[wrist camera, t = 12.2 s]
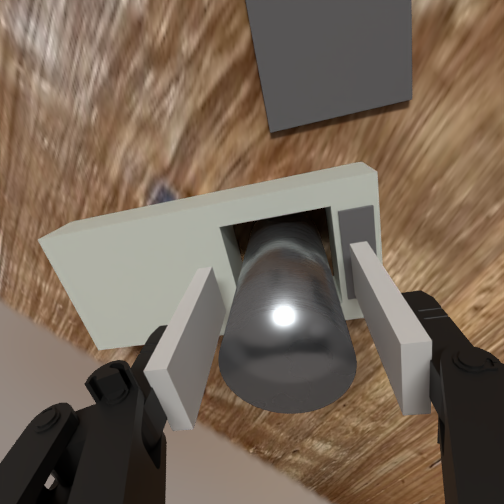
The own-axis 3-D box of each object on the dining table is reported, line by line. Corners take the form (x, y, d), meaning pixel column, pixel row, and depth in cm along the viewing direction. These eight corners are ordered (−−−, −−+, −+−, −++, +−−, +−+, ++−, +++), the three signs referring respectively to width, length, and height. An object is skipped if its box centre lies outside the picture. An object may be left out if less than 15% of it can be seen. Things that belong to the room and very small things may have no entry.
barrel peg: (242, 215, 18) (203, 319, 9) (316, 203, 17) (351, 302, 8) (256, 278, 20) (234, 416, 11) (324, 269, 19) (360, 410, 10)
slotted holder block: (71, 221, 19) (34, 241, 17) (361, 161, 16) (378, 172, 13) (120, 321, 23) (96, 352, 20) (370, 286, 19) (386, 317, 17)
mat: (239, -34, 13) (238, -38, 13) (407, -91, 12) (410, -96, 12) (270, 132, 16) (270, 132, 16) (409, 99, 15) (412, 99, 15)
